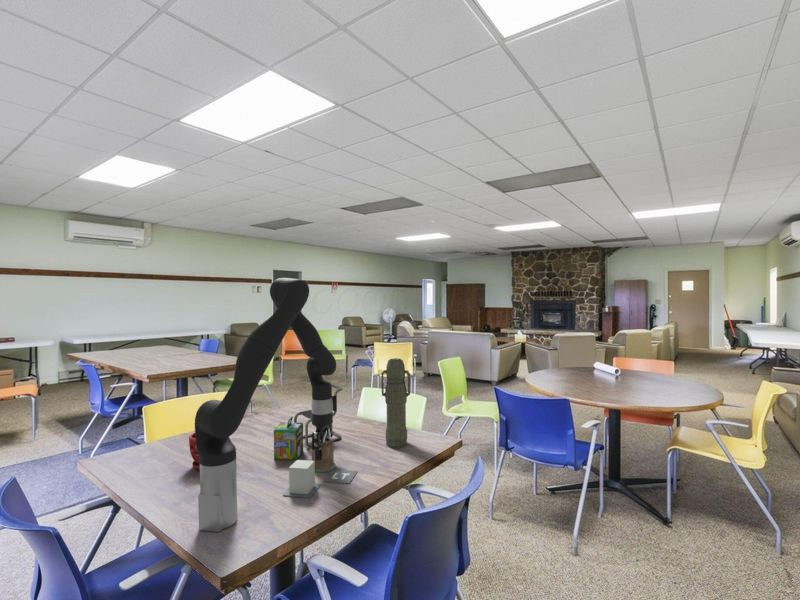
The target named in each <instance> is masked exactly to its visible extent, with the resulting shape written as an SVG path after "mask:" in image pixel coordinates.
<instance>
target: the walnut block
mask: <svg viewBox="0 0 800 600" xmlns="http://www.w3.org/2000/svg"><path fill="white" fill-rule="evenodd" d="M314 445H315V443H314ZM310 448H312V446H311V447H310ZM334 448H335V447H334V442H333V441H324V444H322V459H321V460H320V461H318V460H315V450H312V449H311V461H315V469H323V470H328V469H329V468H330V467H331V466H332V464H333V463H335V462H334V461H335V459H334V456H335V455H334V453H335V452H334V451H335V450H334Z"/></svg>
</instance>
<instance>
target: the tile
mask: <svg viewBox="0 0 800 600" xmlns="http://www.w3.org/2000/svg"><path fill="white" fill-rule="evenodd" d="M357 474H358V471H355V470H341V469H332V470H330V471H329V474H328V475H327V476H326V477H325V478H324V480H323V481H322V482H323V483H330V484H331V483H333V484H343V485H344V484H345V485H349V484H351V482H352V481H353V479H354V478H355V476H356V475H357Z"/></svg>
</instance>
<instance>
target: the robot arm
mask: <svg viewBox="0 0 800 600" xmlns="http://www.w3.org/2000/svg"><path fill="white" fill-rule="evenodd" d="M269 296H270V298H271V300H272V302H273V304H274V305H275V306H276V309H275V311H274V313H273V314H272V315H271V316H270V317H269V318H267V319H266V320H264V321H263V322H262V323H260V324H259V325H258V326H257V327H256V328H255V329H253V331H251V332H250V333H249V335H248V336H247V338H246V340H245V341H244V343H243V345H242V346H241V348H240V350H239V351H238V354H237V356H236V362H235V369H234V373H233V374H234V376H233V380H232V383H231V385H230V386H229V389H227V390H228V391H227V392H226V393H225V395H224V397H223V399H222V400H218V399H210V400H207V401H204V402H203V403H202V404H201V405H200V406H199V407H198V408H197V411H196V414H195V417H194V433H195V439H196V449H197V453H198V455H199V459H200V470H199V489H200V490H199V494H198V495H197V498H198V499H197V501H198V502H197V505H198V506H197V507H198V531H207V532H217V533H220V532H221V531H223V530H225V529H227V528H229V527H230V528H231V526H233V525H235V523H236V522H238V521H237V520H238V517H239V516H238V483H237V481H238V480H237V478H238V476H237V475H238V474H237V473H238V472H237V448H236V446H235V445H234V443H233V442H232V440H231V438H230V437H231V436H232V435H233V434H234V433H235V432H236V431H237V430H238V428H239V427H240V425H241V423H242V421H243V419H244V416H245V414H246V412H247V409H248V408H249V404H250V402H251V401H252V397H253V395H254V394H255V391H256V389H257V388H258V386H259V384H260V382H261V380H262V378H263V376H264V374H265V373H266V371H267V369H268V367H269V366H270V363H271V362H272V360H273V358H274V356H275V355H276V352H277V350H278V349H279V347H280V345H281V343H282V341H283V339H284V338H285V336H286V334H287V332H288V331H289V329H290V328H291V330H292V331H293V333H294V335H295V336H296V338H297V339H298V342H299V344H300V346H301V348H302V350H303V353H304V354H305V356H306V357H308V359H307V360H306V372H307V375H308V380H309V383H310V385H311V410H312V422H311V425H312V426H314V427H315V432H311V434H312V436H311V444H312V447H311V451H312V450H315V460H318V461H320V460H321V459H322V444H324V441H330V440H331V439H332V438H333V436H334V434H333V423H334V419H333V418H334V416H333V413H334V411H333V402H332V396H333V391H332V390H333V387H332V385H331V384H332V383H331V382H330V381H328V380H326V379H324V378H323V376H326V377H327V376H332V375H333V374H334V373H335V371H336V370H337V361H336V358H335V356H334V355H333V353H332V352H331V351H330V350H329V349H328V347H326V345H325V344H324V343H323V340H322V338H321V336H320V334H319V332H318V330H317V328H316V327H315V325H314V324H313V323H312V322H311V321H310V320H309V319H308V318H307V317H306V315H304V314H303V312H302V309H303V308H304V307H305V305H306V304H307V302H308V298H309V296H310V286H309V284H308V282H307V281H306V280H303V279H299V278H292V277H279V278H276V279H275V280H273V282H272V283H271V285H270V287H269ZM314 443H315V445H314Z"/></svg>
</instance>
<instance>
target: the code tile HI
mask: <svg viewBox="0 0 800 600" xmlns="http://www.w3.org/2000/svg"><path fill="white" fill-rule="evenodd" d="M321 486H322V483H316V482H315V486H314V487H313V489H312V490H311V491H310V492H309V493H308V494H297V493H289V488H288V489H287V490H286V491H285V492H284V493H283V494H282V496H283V497H288V498H289V497H291V498H300V499H301V498H304V499H311V498H312V497H313V496H314V494H315V493H316V492H317V491H318V490H319V488H320V487H321Z"/></svg>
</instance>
